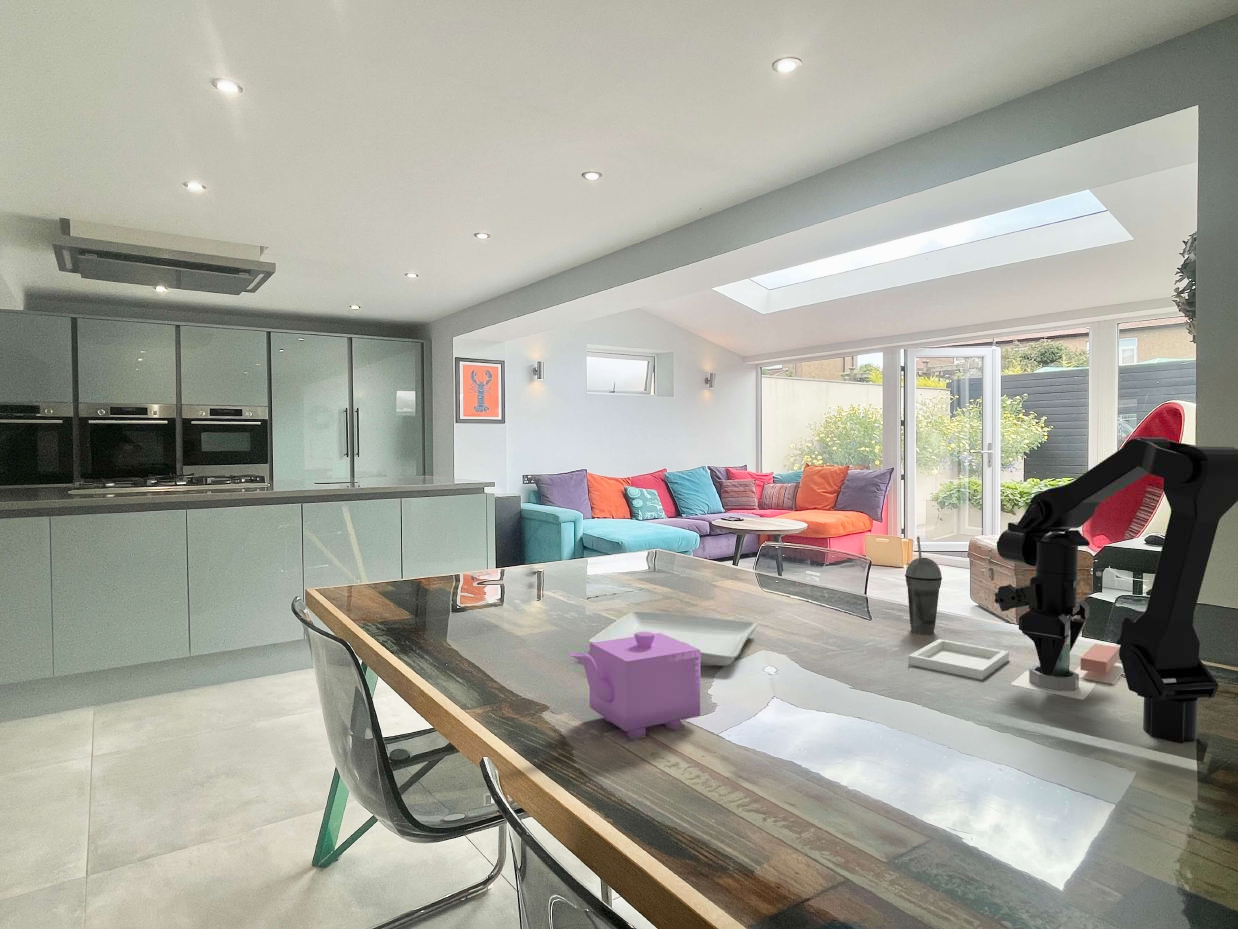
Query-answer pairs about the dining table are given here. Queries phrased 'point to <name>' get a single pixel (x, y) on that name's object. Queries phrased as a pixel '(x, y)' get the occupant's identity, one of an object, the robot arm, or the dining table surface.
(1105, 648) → the bar
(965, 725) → the dining table surface
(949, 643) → the white rectangular tray
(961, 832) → the dining table surface
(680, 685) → the teapot
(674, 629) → the square plate
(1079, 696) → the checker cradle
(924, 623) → the beverage cup
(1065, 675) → the silver cell
